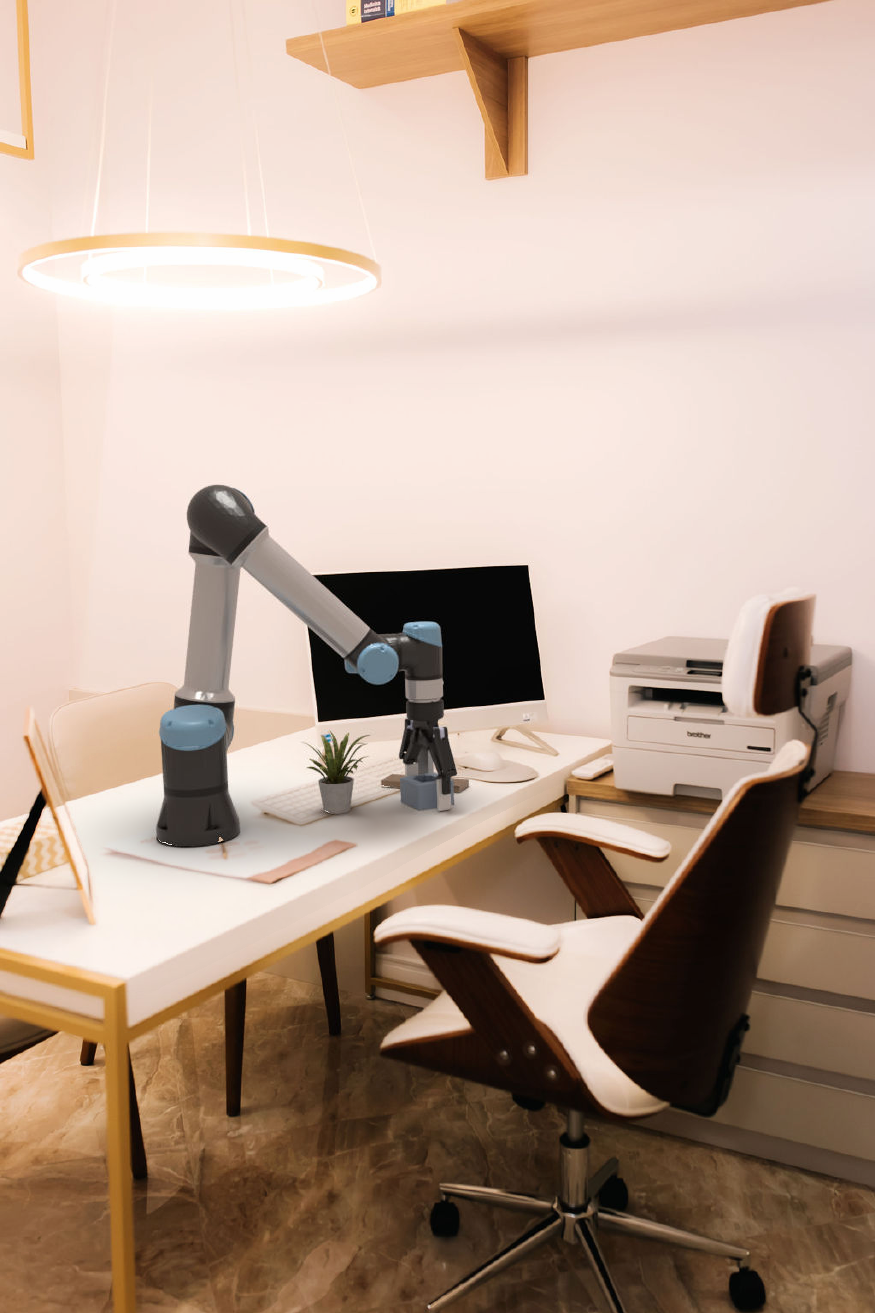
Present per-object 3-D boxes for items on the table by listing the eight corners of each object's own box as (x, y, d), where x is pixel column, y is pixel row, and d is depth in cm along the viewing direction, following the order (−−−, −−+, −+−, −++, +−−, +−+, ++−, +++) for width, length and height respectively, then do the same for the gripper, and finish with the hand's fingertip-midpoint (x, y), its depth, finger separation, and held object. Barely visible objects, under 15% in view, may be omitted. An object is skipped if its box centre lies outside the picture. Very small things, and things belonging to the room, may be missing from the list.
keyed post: (459, 793, 219) (458, 727, 217) (381, 787, 226) (379, 723, 224) (468, 786, 225) (467, 722, 223) (392, 780, 231) (390, 718, 229)
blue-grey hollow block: (454, 804, 210) (453, 780, 210) (418, 810, 207) (418, 785, 206) (434, 795, 217) (434, 772, 217) (400, 801, 214) (400, 777, 213)
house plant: (393, 807, 210) (391, 727, 207) (349, 824, 198) (346, 740, 196) (338, 798, 218) (335, 720, 215) (293, 814, 206) (290, 733, 204)
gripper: (472, 705, 200) (475, 813, 203) (412, 689, 222) (415, 786, 225) (438, 710, 197) (441, 819, 199) (380, 693, 218) (384, 791, 221)
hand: (428, 802), depth 212 cm, fingers open, 13 cm apart
